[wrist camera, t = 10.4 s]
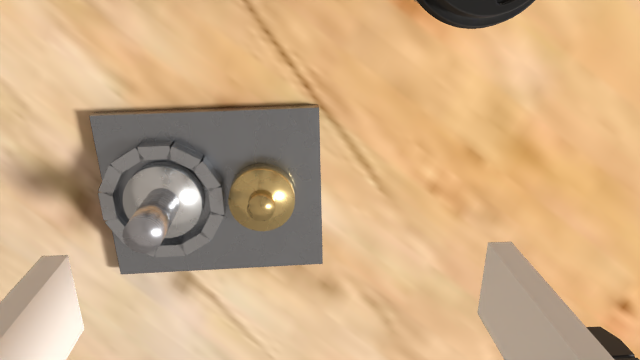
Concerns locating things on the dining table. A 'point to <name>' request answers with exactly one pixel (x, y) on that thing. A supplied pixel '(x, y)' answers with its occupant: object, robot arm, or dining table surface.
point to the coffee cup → (474, 11)
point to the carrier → (221, 183)
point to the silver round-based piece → (160, 205)
